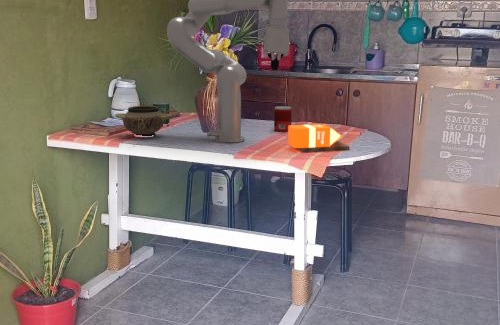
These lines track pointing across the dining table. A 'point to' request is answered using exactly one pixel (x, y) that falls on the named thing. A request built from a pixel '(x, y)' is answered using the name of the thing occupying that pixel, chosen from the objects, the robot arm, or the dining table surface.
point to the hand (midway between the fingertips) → (274, 69)
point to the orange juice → (311, 136)
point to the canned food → (282, 118)
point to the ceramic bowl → (143, 119)
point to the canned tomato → (163, 109)
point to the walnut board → (326, 148)
